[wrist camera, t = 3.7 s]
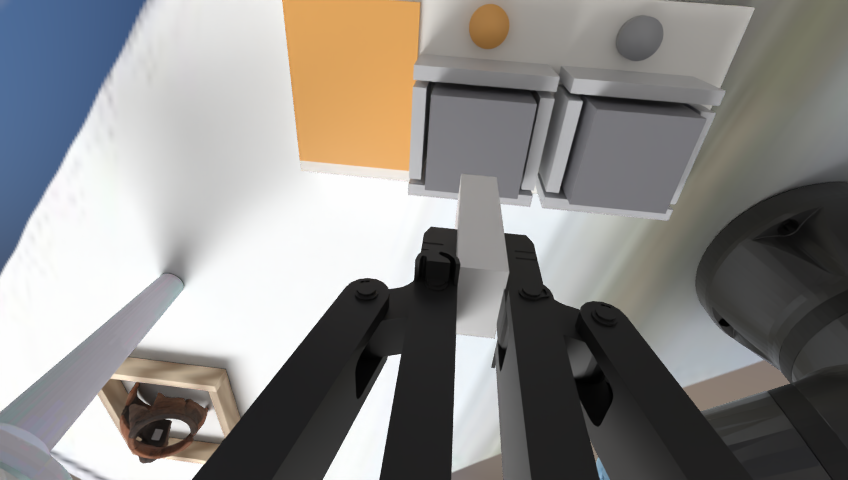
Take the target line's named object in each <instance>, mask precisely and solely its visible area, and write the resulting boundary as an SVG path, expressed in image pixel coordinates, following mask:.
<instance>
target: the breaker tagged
mask: <svg viewBox="0 0 848 480" xmlns="http://www.w3.org/2000/svg"><path fill="white" fill-rule="evenodd" d="M536 107H537V103H536V101H535V99H534V97H533V95H532V93H531V91H530V90H527V89H515V88H504V87H492V86H480V85H469V84H457V83H445V82H435V85H434V88H433V91H432V94H431V104H430V119H429V134H428V148H427V163H426V178H425V190H430V191H440V192H450V193H459V187H460V179H461V174H468V175H479V176H489V177H497V184H498V191H499V197H500V198H511V199H518V194H519V189H520V184H521V179H522V175H523V170H524V165H525V160H526V155H527V151H528V146H529V141H530V136H531V131H532V126H533V122H534V117H535V112H536Z"/></svg>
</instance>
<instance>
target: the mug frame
mask: <svg viewBox="0 0 848 480" xmlns="http://www.w3.org/2000/svg"><path fill="white" fill-rule="evenodd" d="M121 380H126V381H134V382H142V383H150V384H157V385H165V386H173V387H181V388H189V389H197V390H205V391H208V392H209V394H210V397H211V400H212V403H213V406H214V409H215V411H216V414H217V417H218V420H219V423H220V426H221V428H222V431H223V434H224V437H225V438H226V436H227V435H228V434H229V433H230V431H231V430H232V429H233V428H234V426H235V425H236V424H237V423H238V421H239V420H240V419H241V418H240V415H239V412H238V408H237V405H236V402H235V399H234V395H233V392H232V389H231V385H230V382H229V379H228V376H227V372H226V369H220V368H212V367H204V366H196V365H188V364H179V363H171V362H163V361H155V360H147V359H139V358H131V357H127V358H126V360H125V361H124V362H123V363H122V364H121V366H120V367H119V368H118V369H117V371H116V372H115V373H114V374H113V375H112V377H111V378H110V379H109V380H108V382H107V383H106V384H105V385H104V386H103V388H102V389H101V390H100V391H99V392H98V396H99V398H100V399H101V401H102V403H103V404H104V406H105V408H106V410H107V411H108V413H109V415H110V416H111V418H112V420H113V421H114V423H115V425H116V427H117V428H118V430H119V432H120V433H121V430H120V417H121V413H122V412H123V409H124V408H125V405H126V400H127V397H128V393H127V391H126V390H125V388H124V386H123V384H122V382H121ZM121 435H122V437H123V438H124V436H123V434H122V433H121ZM124 440H125V442H126V444H127V445H128V443H127V441H126V439H125V438H124ZM136 440H138V441H141V440H142V439H141V438H139V437H137V438H136ZM182 440H183V439H177V438H170V437H169V440H168V442H169V444H168V446H170V445H173V444H176V443H178V442H180V441H182ZM219 445H220V444H215V443H207V442H200V441H193V443H192V444H191V445H190V446H189V447H187V448H186V449H184V450H183V451H181V452H179V453H177V454H175V455H172V456H169V457H165V458H163V459H170V460H178V461H185V462H192V463H200V464H205V463H206V461H207V460H208V459H209V458H210V456H211V455H212V454H213V453H214V451H215V450H216V449H217V448H218V446H219ZM128 447H129V446H128ZM130 450H131V449H130ZM131 452H132V451H131ZM132 454H134V453H133V452H132ZM134 455H136V454H134Z"/></svg>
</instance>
